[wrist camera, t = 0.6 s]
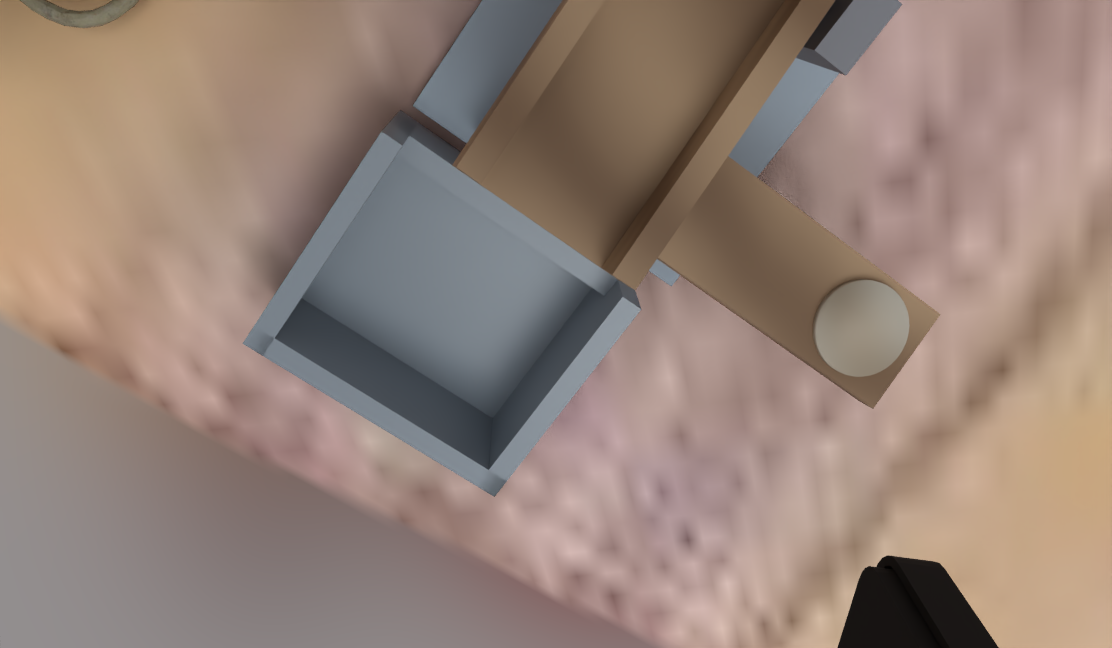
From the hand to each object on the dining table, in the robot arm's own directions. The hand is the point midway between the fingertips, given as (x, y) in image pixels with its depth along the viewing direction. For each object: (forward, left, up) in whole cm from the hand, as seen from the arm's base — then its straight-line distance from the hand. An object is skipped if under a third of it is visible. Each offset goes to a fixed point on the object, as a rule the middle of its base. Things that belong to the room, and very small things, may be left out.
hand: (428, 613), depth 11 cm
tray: (+5, +1, -28) cm, 29 cm away
